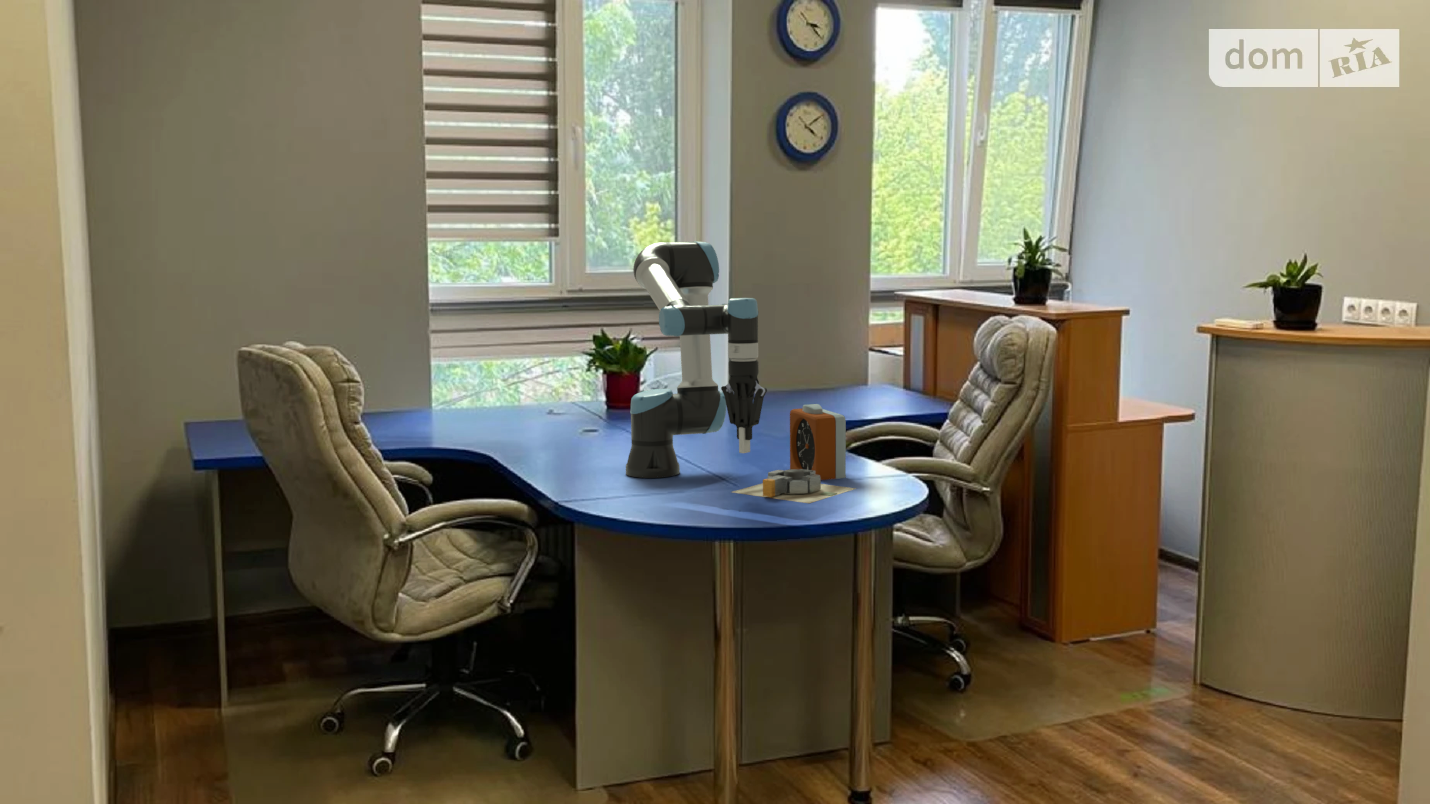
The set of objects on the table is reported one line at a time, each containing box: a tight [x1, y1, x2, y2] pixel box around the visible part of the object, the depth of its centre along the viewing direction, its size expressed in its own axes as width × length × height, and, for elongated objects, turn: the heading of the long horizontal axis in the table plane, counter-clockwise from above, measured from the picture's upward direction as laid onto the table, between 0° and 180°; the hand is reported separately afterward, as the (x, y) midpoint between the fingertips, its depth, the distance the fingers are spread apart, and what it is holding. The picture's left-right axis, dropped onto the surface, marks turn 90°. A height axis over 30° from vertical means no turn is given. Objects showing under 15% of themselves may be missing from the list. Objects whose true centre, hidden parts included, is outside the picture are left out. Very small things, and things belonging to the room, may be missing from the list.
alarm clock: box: [789, 403, 847, 481], centre depth 366 cm, size 18×9×21 cm, turn 21°
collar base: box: [731, 468, 857, 504], centre depth 344 cm, size 24×22×6 cm
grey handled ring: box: [762, 469, 822, 497], centre depth 342 cm, size 18×13×4 cm
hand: (744, 452), depth 341 cm, fingers closed
